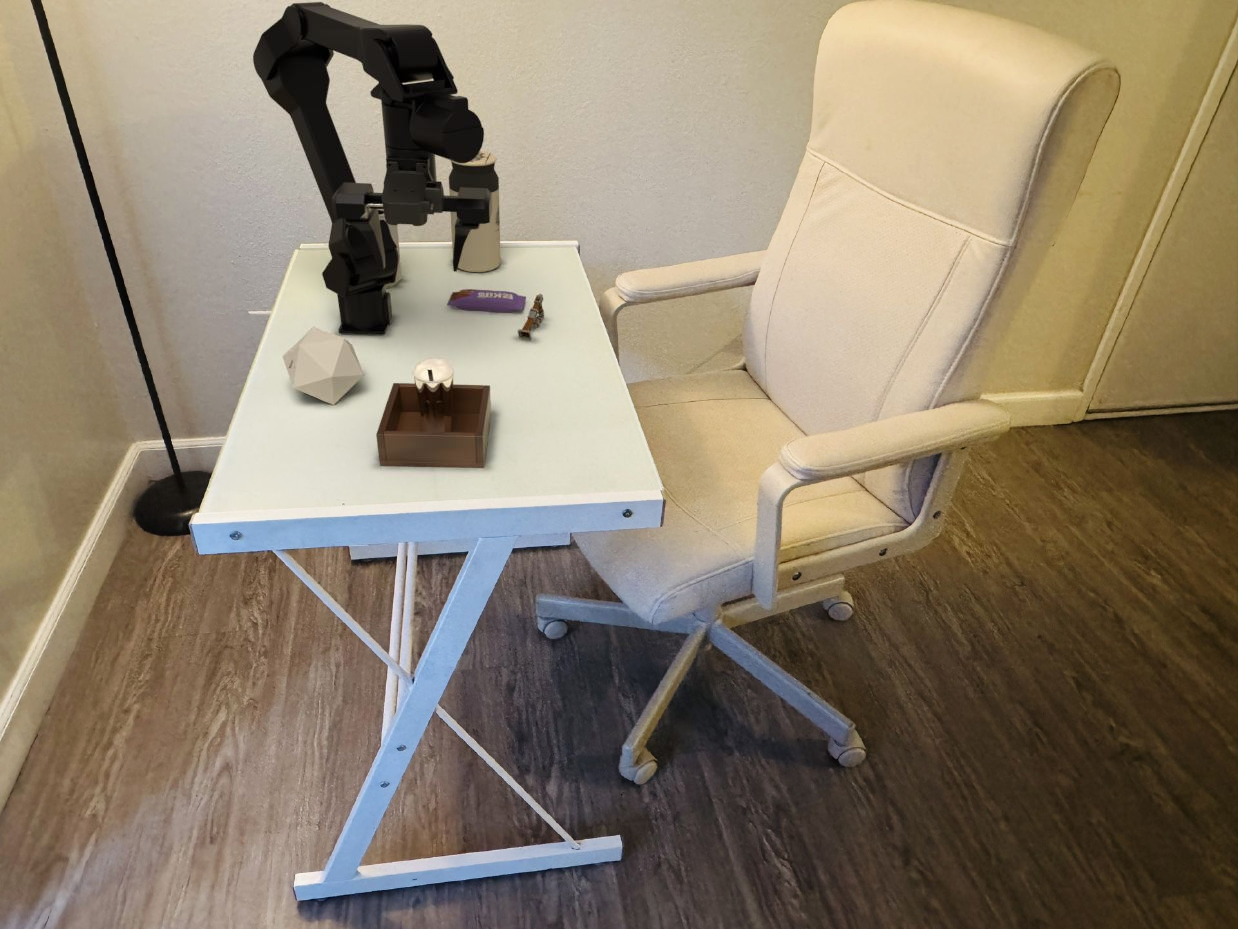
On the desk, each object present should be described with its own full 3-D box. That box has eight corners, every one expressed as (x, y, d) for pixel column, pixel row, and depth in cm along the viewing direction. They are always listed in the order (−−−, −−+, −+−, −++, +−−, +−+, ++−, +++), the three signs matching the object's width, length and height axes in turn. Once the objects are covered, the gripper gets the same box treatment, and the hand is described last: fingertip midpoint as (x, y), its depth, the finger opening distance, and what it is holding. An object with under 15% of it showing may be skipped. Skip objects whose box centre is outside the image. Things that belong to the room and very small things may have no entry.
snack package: (526, 290, 135) (522, 304, 131) (526, 302, 136) (523, 315, 132) (452, 285, 135) (446, 299, 130) (452, 297, 136) (447, 311, 132)
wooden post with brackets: (549, 312, 131) (546, 291, 127) (533, 352, 127) (529, 331, 123) (538, 310, 131) (534, 289, 128) (521, 350, 127) (517, 329, 123)
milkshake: (414, 445, 100) (408, 368, 94) (420, 421, 104) (414, 346, 98) (454, 446, 100) (450, 369, 94) (458, 421, 104) (454, 347, 99)
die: (307, 377, 114) (259, 339, 105) (365, 343, 113) (321, 301, 104) (325, 426, 110) (276, 391, 101) (385, 391, 109) (341, 352, 100)
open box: (379, 465, 97) (376, 434, 95) (396, 412, 107) (393, 382, 104) (483, 467, 98) (482, 436, 96) (491, 414, 107) (490, 385, 105)
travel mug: (447, 270, 145) (440, 160, 134) (461, 253, 151) (456, 147, 141) (493, 275, 144) (490, 165, 134) (505, 258, 150) (504, 152, 140)
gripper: (312, 159, 95) (331, 292, 104) (484, 166, 96) (488, 297, 105) (335, 133, 104) (350, 257, 113) (491, 140, 105) (494, 263, 114)
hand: (419, 269), depth 111 cm, fingers open, 9 cm apart
